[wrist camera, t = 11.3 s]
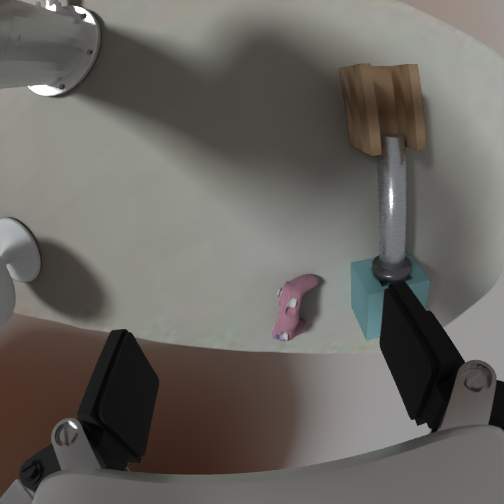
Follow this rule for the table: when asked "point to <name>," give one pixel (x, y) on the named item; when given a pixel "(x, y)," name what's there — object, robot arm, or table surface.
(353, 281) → the socket block
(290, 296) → the video game controller
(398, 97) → the wooden cradle block
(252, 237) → the table surface
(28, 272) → the chalice
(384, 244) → the rod
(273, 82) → the table surface
